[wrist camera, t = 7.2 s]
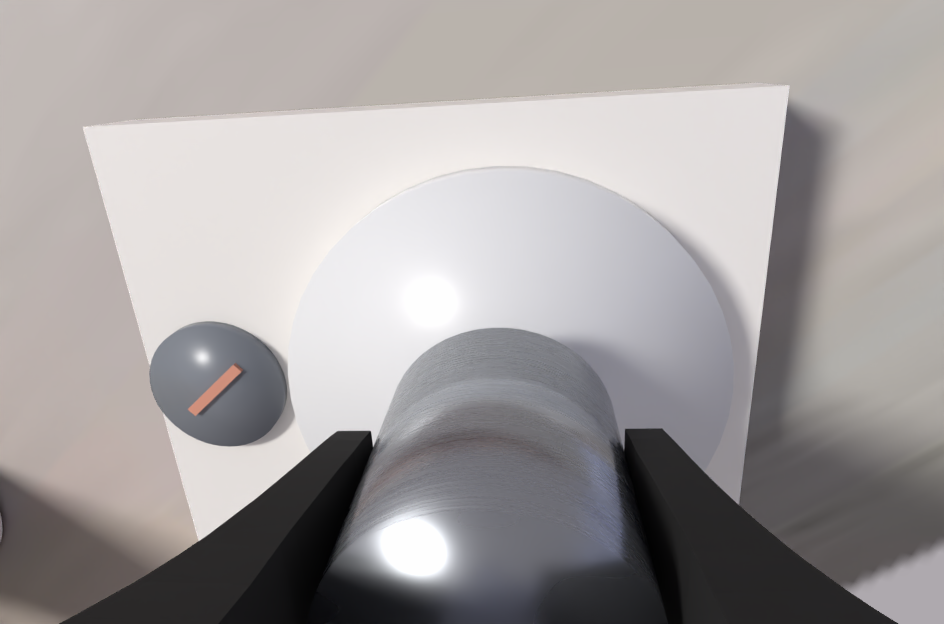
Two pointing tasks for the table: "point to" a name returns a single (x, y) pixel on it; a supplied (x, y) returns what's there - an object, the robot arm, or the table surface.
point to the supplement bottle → (1, 528)
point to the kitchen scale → (442, 261)
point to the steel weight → (494, 498)
